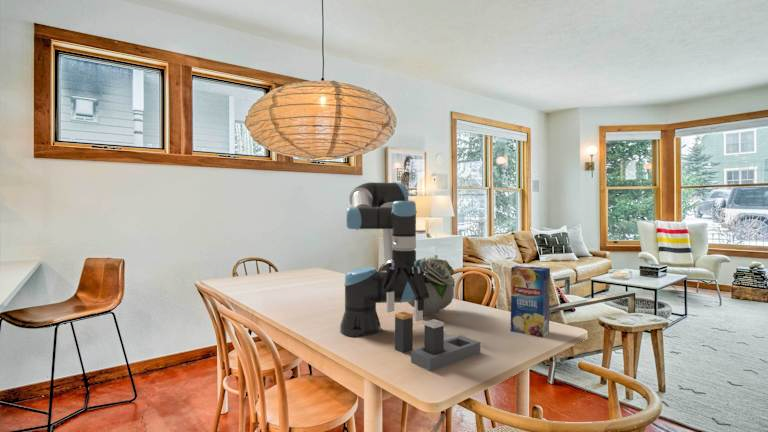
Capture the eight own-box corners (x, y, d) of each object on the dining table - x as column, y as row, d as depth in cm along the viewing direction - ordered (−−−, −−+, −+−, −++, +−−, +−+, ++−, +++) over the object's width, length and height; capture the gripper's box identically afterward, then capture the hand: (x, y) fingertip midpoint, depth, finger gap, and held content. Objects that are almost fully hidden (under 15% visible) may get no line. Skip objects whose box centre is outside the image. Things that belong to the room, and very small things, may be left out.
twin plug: (424, 361, 121) (424, 321, 120) (433, 358, 123) (434, 319, 123) (433, 366, 118) (434, 325, 117) (443, 362, 120) (444, 322, 120)
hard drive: (466, 338, 142) (438, 329, 151) (451, 343, 136) (423, 334, 145) (466, 342, 142) (438, 333, 151) (451, 348, 136) (423, 338, 145)
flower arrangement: (440, 325, 159) (440, 263, 158) (388, 314, 174) (389, 258, 173) (468, 311, 179) (468, 256, 178) (419, 303, 194) (420, 252, 193)
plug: (394, 350, 131) (394, 313, 130) (404, 347, 133) (404, 311, 133) (403, 354, 128) (403, 316, 127) (412, 351, 130) (412, 314, 130)
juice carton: (549, 332, 151) (550, 268, 150) (543, 337, 145) (544, 270, 144) (517, 326, 158) (517, 265, 158) (510, 331, 153) (511, 267, 152)
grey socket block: (411, 365, 120) (411, 350, 120) (460, 349, 134) (460, 335, 134) (430, 374, 114) (430, 358, 114) (480, 356, 128) (480, 342, 128)
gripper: (371, 247, 137) (371, 309, 137) (422, 253, 117) (422, 327, 118) (388, 245, 141) (388, 306, 142) (441, 252, 122) (440, 322, 122)
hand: (404, 315), depth 130 cm, fingers open, 13 cm apart
